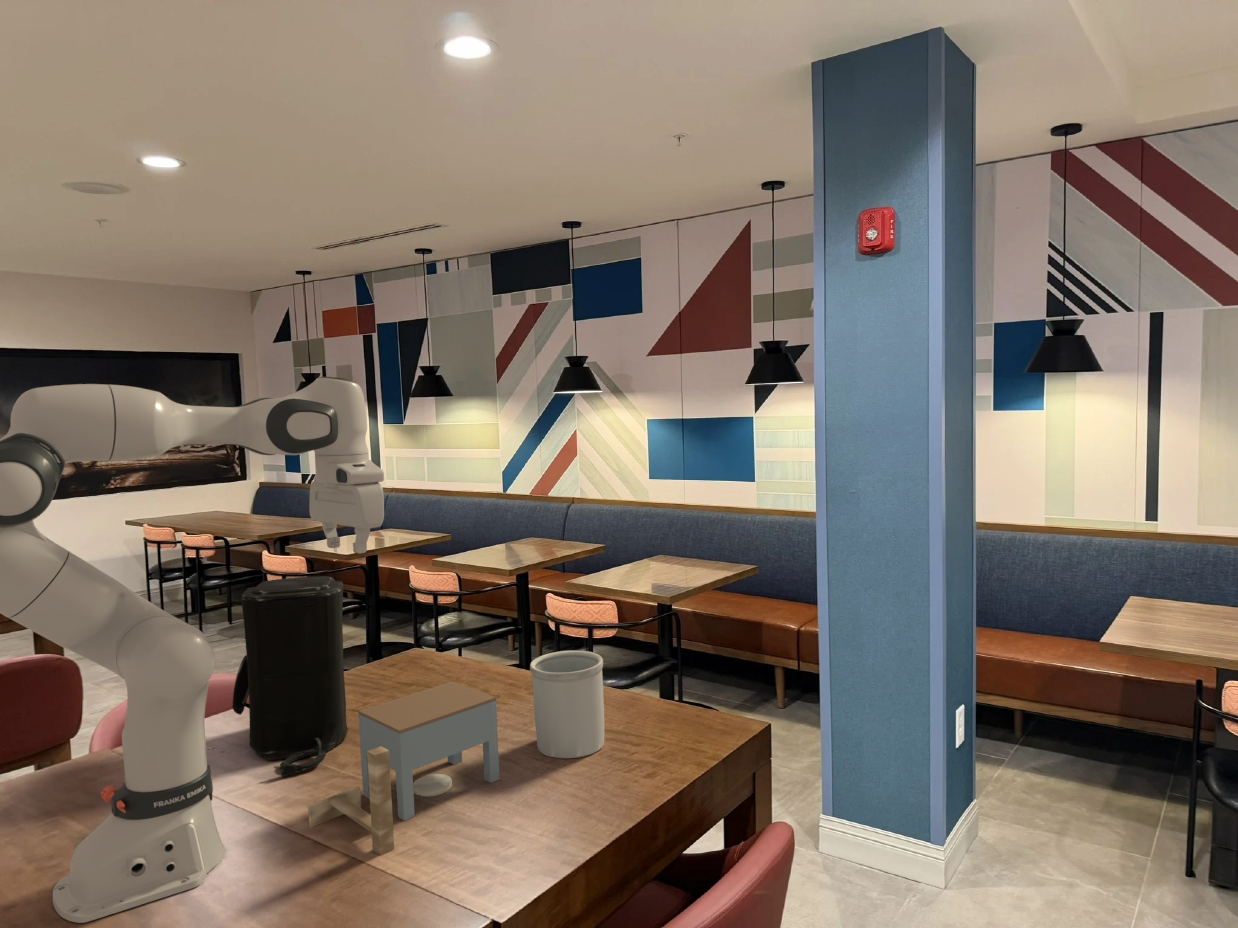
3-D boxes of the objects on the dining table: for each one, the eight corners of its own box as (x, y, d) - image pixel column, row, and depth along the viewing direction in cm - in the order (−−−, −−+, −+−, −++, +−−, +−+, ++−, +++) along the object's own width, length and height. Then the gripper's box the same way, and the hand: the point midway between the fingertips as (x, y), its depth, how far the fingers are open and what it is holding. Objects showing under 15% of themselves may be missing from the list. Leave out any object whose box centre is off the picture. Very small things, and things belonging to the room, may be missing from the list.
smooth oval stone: (426, 801, 144) (426, 795, 144) (405, 789, 149) (405, 783, 149) (459, 787, 149) (459, 781, 149) (438, 776, 154) (437, 770, 154)
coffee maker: (332, 706, 192) (324, 566, 190) (389, 748, 167) (381, 586, 165) (229, 733, 178) (219, 581, 176) (275, 783, 153) (263, 607, 151)
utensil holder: (523, 757, 161) (519, 670, 159) (547, 728, 175) (544, 648, 174) (595, 763, 157) (591, 674, 156) (613, 732, 172) (610, 651, 170)
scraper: (360, 864, 124) (355, 762, 123) (309, 825, 137) (303, 732, 136) (412, 840, 131) (407, 743, 130) (358, 805, 143) (353, 716, 142)
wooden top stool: (404, 820, 137) (399, 730, 136) (363, 794, 147) (358, 710, 146) (499, 779, 152) (495, 697, 150) (456, 758, 161) (452, 681, 160)
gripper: (298, 470, 146) (302, 546, 147) (354, 474, 132) (358, 558, 133) (331, 468, 151) (335, 542, 152) (389, 471, 137) (393, 553, 137)
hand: (346, 550), depth 142 cm, fingers open, 8 cm apart
